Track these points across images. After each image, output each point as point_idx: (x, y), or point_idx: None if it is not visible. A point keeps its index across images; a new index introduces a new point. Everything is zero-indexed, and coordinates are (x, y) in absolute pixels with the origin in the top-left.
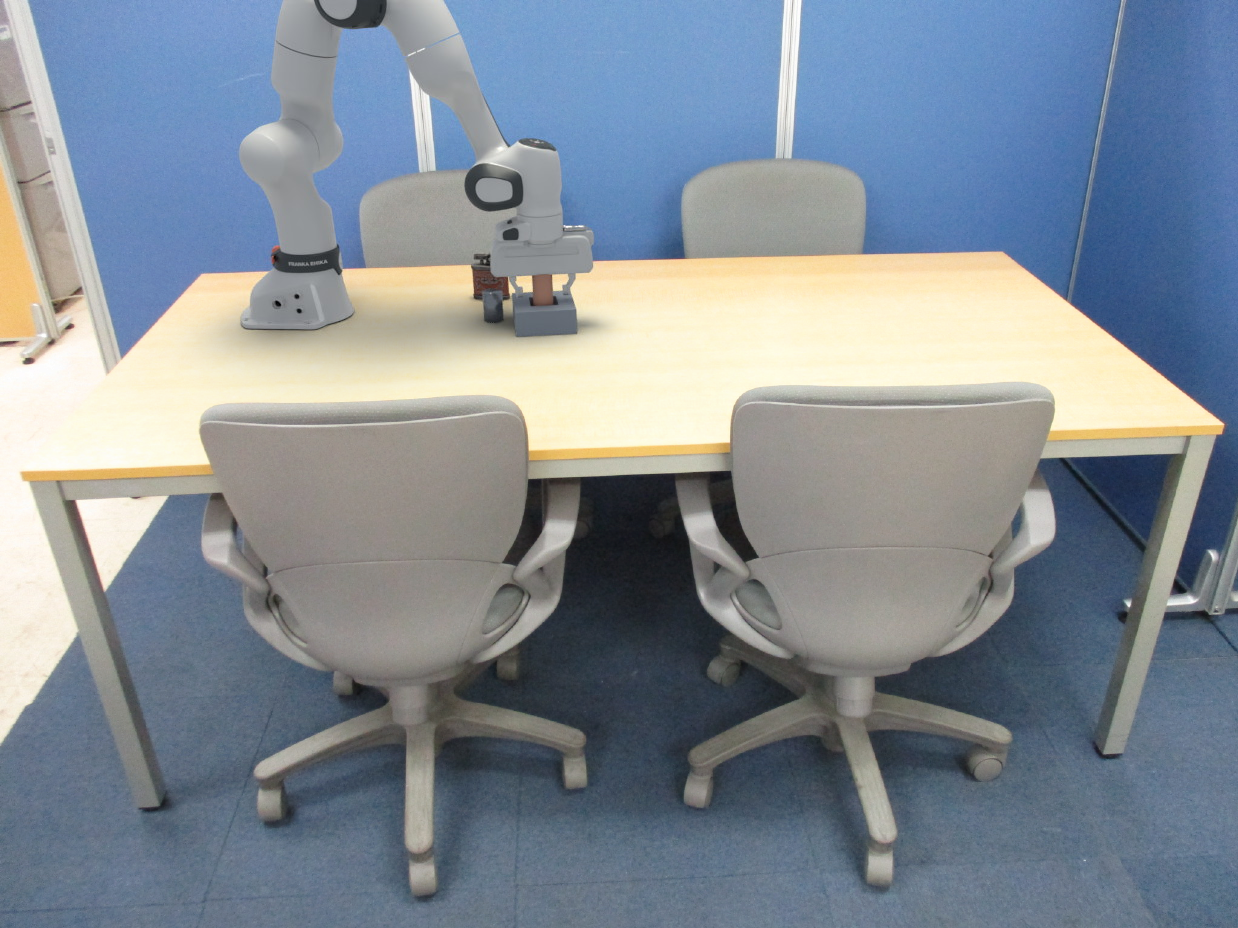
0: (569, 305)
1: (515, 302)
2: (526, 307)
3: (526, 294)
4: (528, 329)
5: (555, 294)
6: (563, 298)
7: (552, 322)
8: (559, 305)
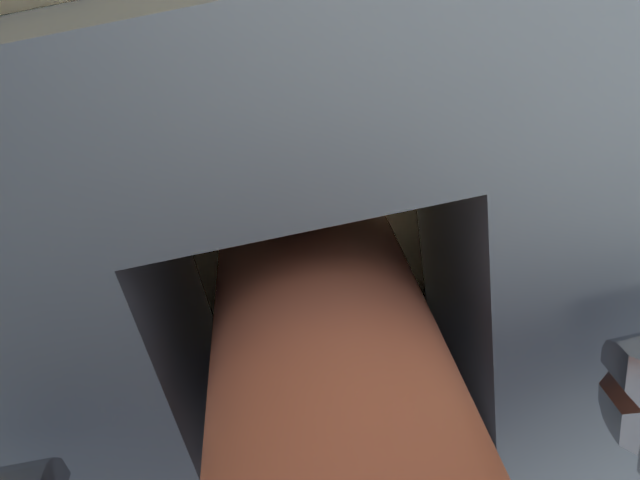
0: (604, 457)
1: (1, 446)
2: None
3: (36, 152)
4: None
5: (485, 132)
6: (575, 276)
7: None
8: (506, 463)
